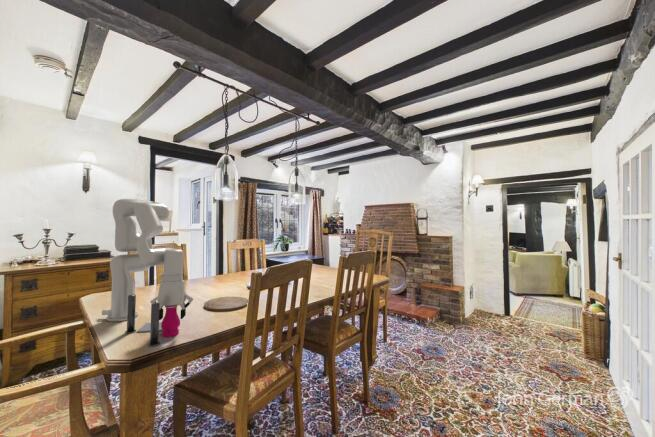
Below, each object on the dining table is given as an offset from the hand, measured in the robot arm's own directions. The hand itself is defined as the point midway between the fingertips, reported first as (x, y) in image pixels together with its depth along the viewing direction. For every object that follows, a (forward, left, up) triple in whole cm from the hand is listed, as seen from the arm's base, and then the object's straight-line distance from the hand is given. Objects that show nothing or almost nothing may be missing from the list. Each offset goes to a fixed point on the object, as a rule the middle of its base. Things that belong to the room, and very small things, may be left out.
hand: (171, 318), depth 117 cm
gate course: (-10, 0, -7) cm, 12 cm away
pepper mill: (0, 0, -7) cm, 7 cm away
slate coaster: (-10, +10, -7) cm, 16 cm away
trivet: (+18, +41, -8) cm, 45 cm away
